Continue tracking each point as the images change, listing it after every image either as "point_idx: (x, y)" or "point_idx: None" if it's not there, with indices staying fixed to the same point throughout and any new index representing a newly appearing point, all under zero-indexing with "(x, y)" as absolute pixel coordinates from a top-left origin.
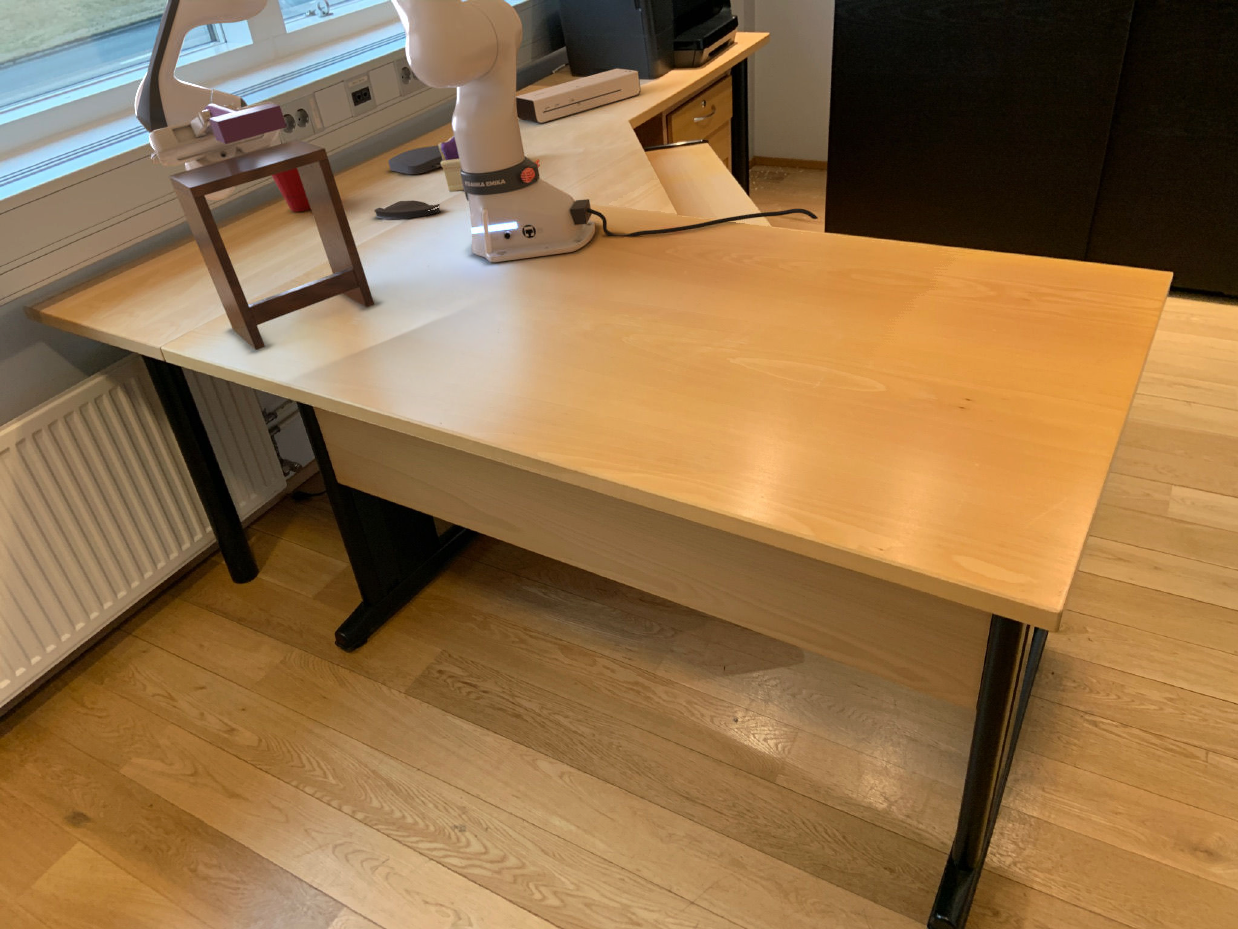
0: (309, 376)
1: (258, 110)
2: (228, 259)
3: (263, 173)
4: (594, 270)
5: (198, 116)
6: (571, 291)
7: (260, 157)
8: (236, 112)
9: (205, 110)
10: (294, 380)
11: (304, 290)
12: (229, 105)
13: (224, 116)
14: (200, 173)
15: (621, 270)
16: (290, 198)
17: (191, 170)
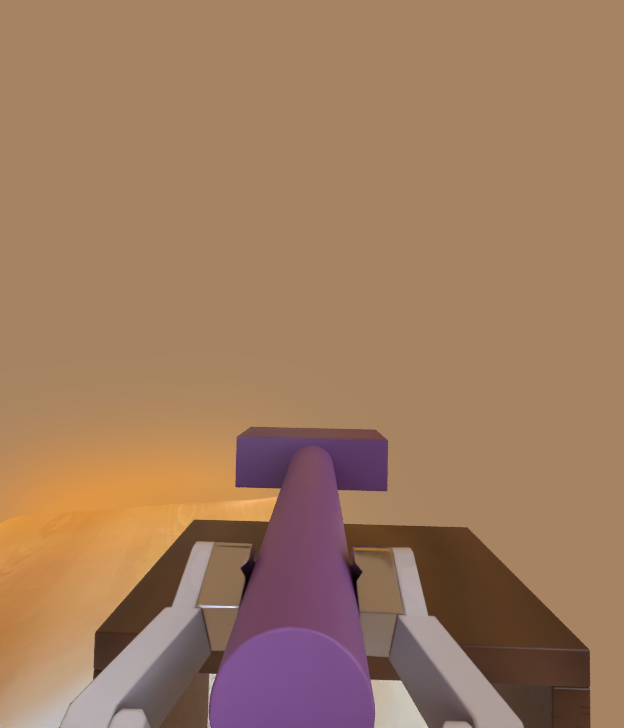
0: (386, 689)
1: (291, 428)
2: None
3: None
4: (10, 648)
5: (429, 619)
6: (85, 630)
7: None
8: (324, 436)
9: (372, 548)
10: (404, 695)
11: None
12: (229, 544)
13: (354, 435)
14: (457, 580)
15: (16, 627)
16: None
17: (500, 633)
